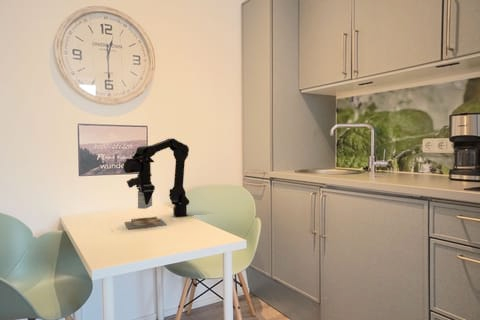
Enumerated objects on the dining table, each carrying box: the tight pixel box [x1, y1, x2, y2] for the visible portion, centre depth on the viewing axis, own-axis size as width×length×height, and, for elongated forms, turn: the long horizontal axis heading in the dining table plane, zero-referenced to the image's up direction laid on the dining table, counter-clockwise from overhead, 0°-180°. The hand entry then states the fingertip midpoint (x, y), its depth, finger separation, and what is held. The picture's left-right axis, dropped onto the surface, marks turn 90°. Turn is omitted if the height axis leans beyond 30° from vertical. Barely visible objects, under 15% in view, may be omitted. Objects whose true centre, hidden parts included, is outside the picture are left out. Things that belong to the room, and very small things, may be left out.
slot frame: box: [130, 216, 160, 226], centre depth 163 cm, size 12×8×2 cm
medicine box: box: [137, 190, 153, 210], centre depth 162 cm, size 8×4×9 cm, turn 174°
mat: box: [124, 218, 168, 231], centre depth 163 cm, size 18×16×1 cm
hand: (145, 203), depth 163 cm, fingers closed on medicine box, 9 cm apart
